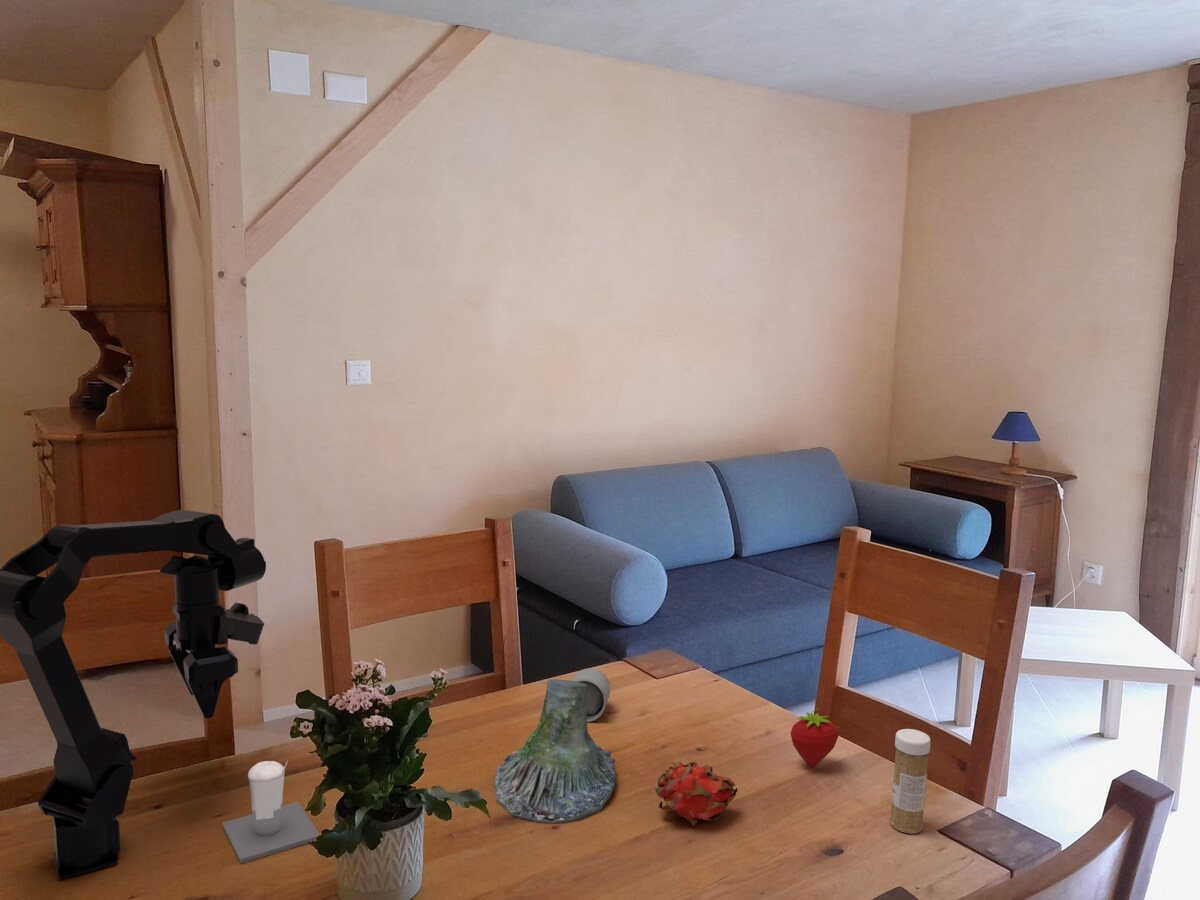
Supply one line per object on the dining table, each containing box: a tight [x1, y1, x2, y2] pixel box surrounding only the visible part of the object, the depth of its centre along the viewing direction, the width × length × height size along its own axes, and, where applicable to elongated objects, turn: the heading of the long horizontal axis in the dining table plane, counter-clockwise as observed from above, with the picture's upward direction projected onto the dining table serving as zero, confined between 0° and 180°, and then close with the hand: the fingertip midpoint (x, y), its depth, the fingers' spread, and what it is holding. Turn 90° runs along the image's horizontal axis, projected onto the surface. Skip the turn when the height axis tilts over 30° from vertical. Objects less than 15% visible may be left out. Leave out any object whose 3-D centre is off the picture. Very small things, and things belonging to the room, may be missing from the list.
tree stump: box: [494, 678, 617, 824], centre depth 135 cm, size 18×20×18 cm
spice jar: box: [889, 728, 931, 834], centre depth 125 cm, size 5×5×14 cm
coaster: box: [222, 801, 320, 864], centre depth 121 cm, size 10×10×1 cm
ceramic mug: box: [570, 667, 611, 723], centre depth 161 cm, size 11×8×8 cm
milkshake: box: [247, 760, 289, 836], centre depth 120 cm, size 5×5×10 cm
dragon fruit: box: [654, 761, 739, 826], centre depth 127 cm, size 8×8×12 cm
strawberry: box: [790, 708, 839, 768], centre depth 142 cm, size 6×8×10 cm
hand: (201, 705), depth 129 cm, fingers open, 9 cm apart
